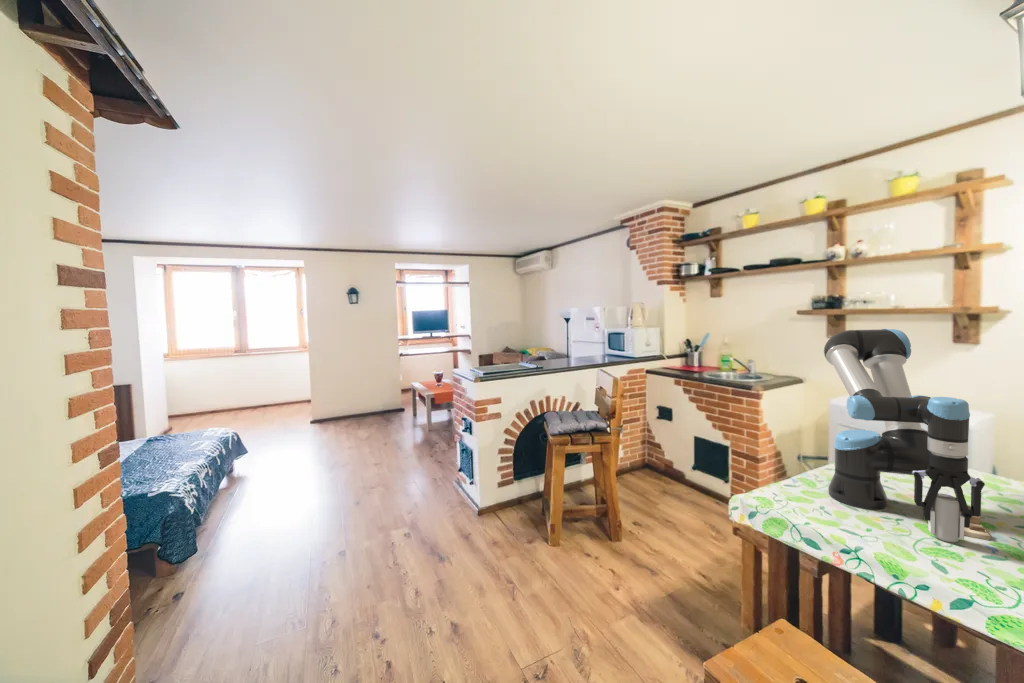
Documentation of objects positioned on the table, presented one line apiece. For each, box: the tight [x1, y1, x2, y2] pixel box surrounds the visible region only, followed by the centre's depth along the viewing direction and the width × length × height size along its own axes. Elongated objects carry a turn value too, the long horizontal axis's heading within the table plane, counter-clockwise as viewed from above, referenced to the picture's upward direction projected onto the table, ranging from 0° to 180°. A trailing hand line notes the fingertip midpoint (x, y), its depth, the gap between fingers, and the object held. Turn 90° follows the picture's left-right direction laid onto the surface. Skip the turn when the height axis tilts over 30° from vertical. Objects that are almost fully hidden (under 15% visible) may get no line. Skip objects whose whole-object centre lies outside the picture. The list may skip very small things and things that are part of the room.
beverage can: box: [933, 493, 959, 543], centre depth 108 cm, size 5×5×12 cm
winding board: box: [932, 504, 992, 541], centre depth 115 cm, size 9×16×3 cm, turn 144°
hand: (945, 534), depth 108 cm, fingers closed on beverage can, 5 cm apart
